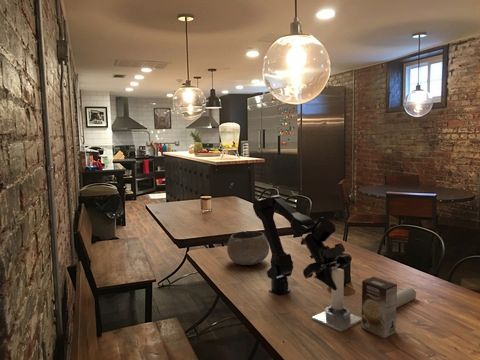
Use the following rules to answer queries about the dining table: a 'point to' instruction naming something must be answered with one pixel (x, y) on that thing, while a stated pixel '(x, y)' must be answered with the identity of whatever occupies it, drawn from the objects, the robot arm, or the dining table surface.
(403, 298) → the tube
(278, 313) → the dining table surface
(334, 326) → the square plate with nut
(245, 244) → the clay pot
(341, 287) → the beige cylinder
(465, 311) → the dining table surface
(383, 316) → the coffee box
